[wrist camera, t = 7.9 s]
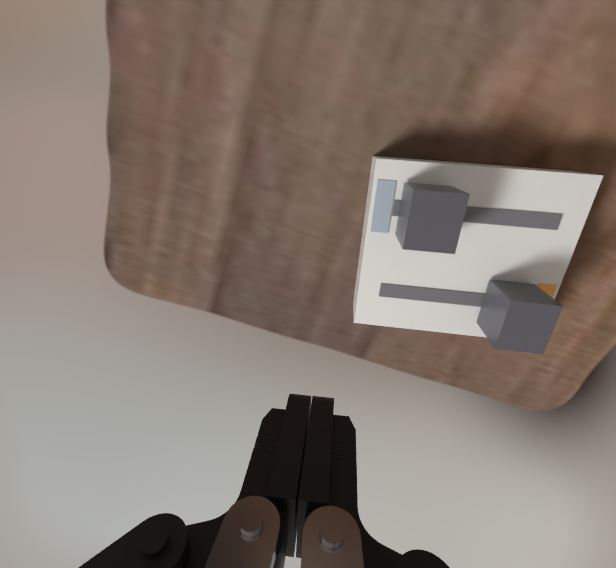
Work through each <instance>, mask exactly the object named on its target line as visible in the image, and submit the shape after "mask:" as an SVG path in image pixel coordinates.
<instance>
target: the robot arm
mask: <svg viewBox="0 0 616 568" xmlns="http://www.w3.org/2000/svg"><path fill="white" fill-rule="evenodd" d="M333 407H334V398H326V397H317V396H313V397H312V404H311V396H306V395H297V394H290V395H289V398H288V402H287V406H286V410H284V409H274V408H272V409H271V410H270V411H269V413H268V414H267V415H266V416H265V417H264V418H263V420H262V422H261V426H260V429H259V432H258V436H257V439H256V443H255V447H254V449H253V453H252V456H251V459H250V462H249V466H248V469H247V473H246V476H245V479H244V482H243V486H242V489H241V492H240V495H239V497H238V499H237V501H236V502H235V504H234V505H232V507H231V508H230V509H229V510H228V511H227V512H226V513H225V514H223V515H222V516H220V517H218V518H216V519H213V520H210V521H205V522H201V523H196V524H191V525H187V526H186V525H185V523H184V522H183V520H182V519H181V518H179V517H178V516H176V515H173V514H169V513H164V514H158V515H155V516H152V517H150V518H148V519H146V520H145V521H143V522H142V523H140V524H139V525H138V526H136V527H135V528H133V529H132V530H131V531H129V532H128V533H126V534H125V535H124V536H122V537H121V538H119V539H118V540H117V541H115V542H114V543H112V544H111V545H110V546H108V547H107V548H105V549H104V550H103V551H101V552H100V553H98V554H97V555H96V556H94V557H93V558H91V559H90V560H89V561H87V562H86V563H84V564H83V565H82V566H80V567H79V568H284V562H285V556H290V557H293V556H294V550H295V542H296V535H297V548H296V549H297V551H296V557H298V558H301V568H449V567H448V566H447V565H446V564H445V562H443V561H442V560H441V559H440V558H439V557H437V556H436V555H434V554H432V553H430V552H428V551H424V550H411V551H408V552H406V553H405V554H403V555H401V554H399V553H397V552H396V551H394V550H391V549H390V548H388V547H386V546H384V545H382V544H380V543H379V542H377V541H376V540H375V539H373V538H372V537H371V536H370V535H369V534H368V532H367V531H366V530H365V529H364V527H363V525H362V523H361V521H360V518H359V514H358V507H357V467H356V430H355V428H354V426H353V424H352V422H351V420H350V418H349V416H340V415H333ZM310 409H311V411H310Z"/></svg>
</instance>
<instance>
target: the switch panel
mask: <svg viewBox="0 0 616 568" xmlns="http://www.w3.org/2000/svg"><path fill="white" fill-rule="evenodd" d="M602 178H603V175H596V174H589V173H582V172H576V171H568V170H554V169H541V168H528V167H514V166H501V165H488V164H474V163H461V162H448V161H435V160H421V159H408V158H395V157H381V156H373V157H372V165H371V172H370V180H369V187H368V195H367V202H366V210H365V218H364V225H363V233H362V240H361V248H360V255H359V263H358V270H357V278H356V285H355V293H354V301H353V313H354V323H361V324H370V325H379V326H388V327H397V328H406V329H416V330H425V331H434V332H443V333H452V334H461V335H470V336H480V337H486V335H485V334H484V332H483V331H482V330H481V328H480V327H479V325H478V324H477V323H476V322H477V319H478V315H479V312H480V309H481V305H482V302H483V299H484V295H485V292H486V289H487V285H488V282H489V279H490V280H500V281H510V282H520V283H531V284H535V285H536V286H538V287H539V288H540V289H541V290H543V291H544V292H545V293H547V294H548V295H549V296H550V297H552V298H553V299H554V300H555V298H556V295H557V293H558V290H559V288H560V285H561V283H562V280H563V278H564V275H565V272H566V270H567V267H568V265H569V262H570V260H571V257H572V255H573V252H574V250H575V247H576V244H577V242H578V239H579V237H580V234H581V232H582V229H583V227H584V224H585V221H586V219H587V216H588V214H589V211H590V209H591V206H592V204H593V201H594V199H595V196H596V193H597V191H598V188H599V186H600V183H601V181H602ZM404 182H408V183H420V184H433V185H445V186H453V187H455V188H458V189H460V190H462V191H464V192H466V193H469V194H470V196H469V200H468V204H467V208H466V212H465V216H464V220H463V224H462V228H461V232H460V236H459V240H458V244H457V248H456V252H455V254H447V253H437V252H426V251H415V250H405V249H402V247H401V245H400V243H399V241H398V239H397V237H396V235H395V232H396V227H397V221H398V215H399V209H400V203H401V198H402V192H403V186H404Z"/></svg>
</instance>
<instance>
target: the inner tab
mask: <svg viewBox="0 0 616 568" xmlns="http://www.w3.org/2000/svg"><path fill="white" fill-rule="evenodd" d="M469 196H470V194H469V193H466V192H464V191H462V190H460V189H458V188H455V187H453V186H445V185H433V184H420V183H408V182H404V186H403V192H402V198H401V203H400V209H399V215H398V221H397V227H396V232H395V235H396V237H397V239H398V241H399V243H400V245H401V247H402V249H405V250H415V251H426V252H437V253H447V254H455V252H456V248H457V244H458V240H459V236H460V232H461V228H462V224H463V220H464V216H465V212H466V208H467V204H468V200H469Z"/></svg>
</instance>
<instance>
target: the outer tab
mask: <svg viewBox="0 0 616 568" xmlns="http://www.w3.org/2000/svg"><path fill="white" fill-rule="evenodd" d="M562 307H563V306H562V305H561V304H559V303H558V302H557V301H556V300H554V299H553V298H552V297H550V296H549V295H548V294H547V293H545V292H544V291H543V290H541V289H540V288H539V287H538V286H536V285H535V284H531V283H520V282H510V281H500V280H490V279H489V282H488V285H487V289H486V292H485V295H484V299H483V302H482V305H481V309H480V312H479V315H478V319H477V322H476V323H477V324H478V325H479V327H480V328H481V330H482V331H483V332H484V334H485V335H486V337H487V338H488V340H489V341H490V342H491V344H492V345H493V347H494V348H495V349H503V350H512V351H521V352H530V353H538V354H544V351H545V349H546V346H547V344H548V341H549V339H550V337H551V334H552V332H553V329H554V327H555V324H556V322H557V319H558V317H559V314H560V312H561V310H562Z"/></svg>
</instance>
